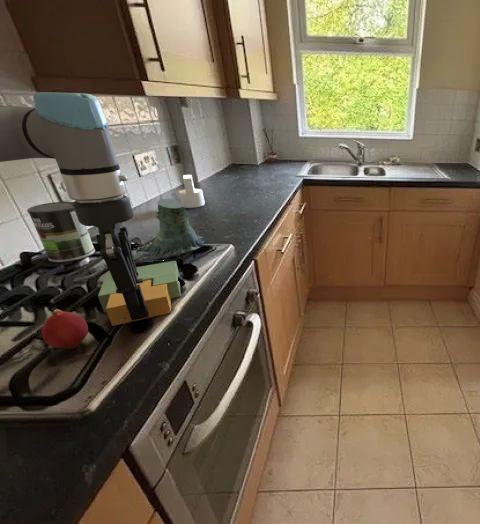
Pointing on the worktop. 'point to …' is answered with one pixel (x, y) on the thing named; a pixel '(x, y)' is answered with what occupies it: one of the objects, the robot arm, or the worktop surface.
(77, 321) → the onion
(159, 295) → the ochre pad
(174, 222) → the tree stump
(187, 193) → the base with upright slab
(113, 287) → the green notched block
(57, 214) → the coffee can
